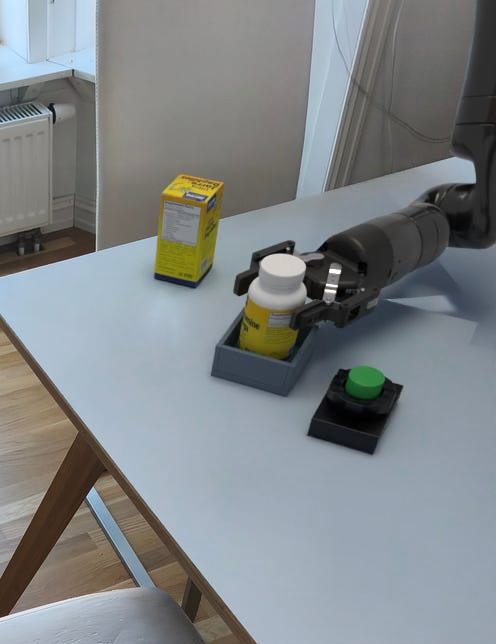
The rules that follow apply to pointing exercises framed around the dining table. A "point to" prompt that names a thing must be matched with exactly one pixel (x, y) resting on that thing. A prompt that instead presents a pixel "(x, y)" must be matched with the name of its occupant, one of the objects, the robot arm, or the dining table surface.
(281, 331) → the pill bottle
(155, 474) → the dining table surface
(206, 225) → the supplement box
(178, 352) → the dining table surface
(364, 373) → the button
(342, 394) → the control block
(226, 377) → the basket
